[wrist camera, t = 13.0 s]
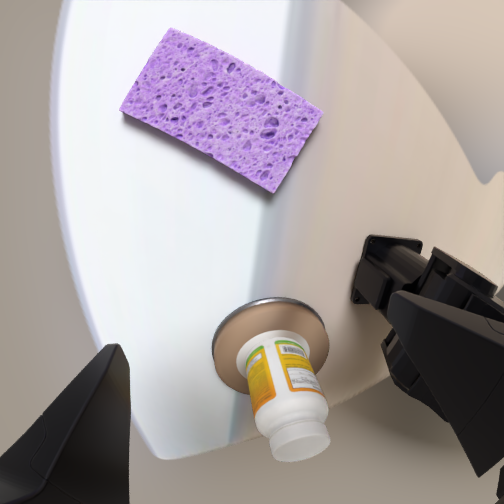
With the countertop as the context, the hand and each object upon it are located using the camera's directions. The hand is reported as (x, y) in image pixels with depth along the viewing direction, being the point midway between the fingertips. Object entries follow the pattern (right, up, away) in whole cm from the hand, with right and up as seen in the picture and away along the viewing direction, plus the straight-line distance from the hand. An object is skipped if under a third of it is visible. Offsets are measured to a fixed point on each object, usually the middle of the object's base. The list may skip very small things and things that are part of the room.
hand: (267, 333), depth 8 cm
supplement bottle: (+2, -7, +16) cm, 17 cm away
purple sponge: (-3, +13, +10) cm, 16 cm away
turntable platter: (+1, -6, +17) cm, 18 cm away
